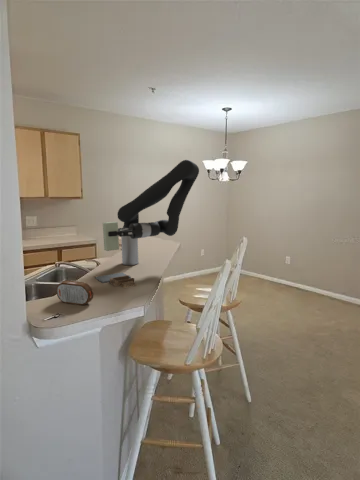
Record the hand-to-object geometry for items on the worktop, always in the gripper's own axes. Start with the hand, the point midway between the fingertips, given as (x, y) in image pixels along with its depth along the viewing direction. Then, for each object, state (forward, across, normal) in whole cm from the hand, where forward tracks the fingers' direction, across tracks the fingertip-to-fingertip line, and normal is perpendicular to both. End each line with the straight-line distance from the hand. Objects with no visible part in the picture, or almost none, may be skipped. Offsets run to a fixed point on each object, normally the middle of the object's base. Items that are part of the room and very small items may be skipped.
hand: (107, 233), depth 148 cm
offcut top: (-3, +15, +22) cm, 27 cm away
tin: (+23, +24, +22) cm, 40 cm away
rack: (-3, +10, +22) cm, 24 cm away
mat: (-2, 0, +22) cm, 22 cm away
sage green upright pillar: (-2, 0, +8) cm, 8 cm away
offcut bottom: (-3, +15, +23) cm, 27 cm away
